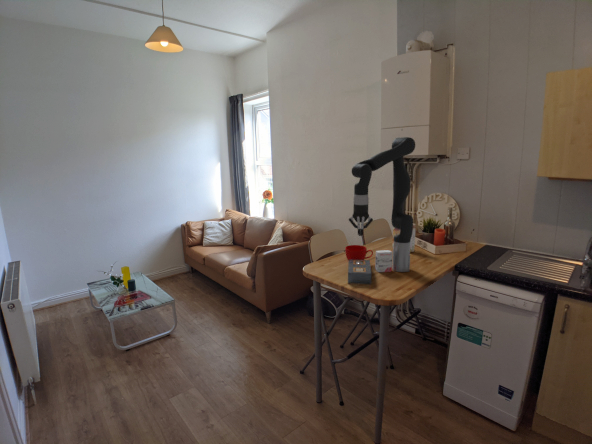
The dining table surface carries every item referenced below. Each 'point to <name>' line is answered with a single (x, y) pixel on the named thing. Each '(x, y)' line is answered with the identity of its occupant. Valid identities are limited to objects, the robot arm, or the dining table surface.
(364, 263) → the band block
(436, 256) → the dining table surface
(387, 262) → the ink box
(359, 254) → the ceramic cup
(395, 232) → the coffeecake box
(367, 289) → the dining table surface
